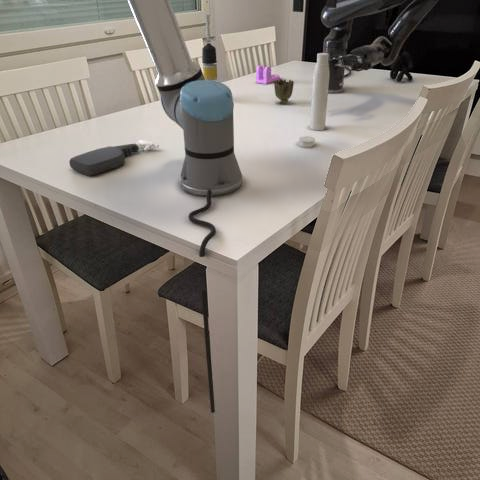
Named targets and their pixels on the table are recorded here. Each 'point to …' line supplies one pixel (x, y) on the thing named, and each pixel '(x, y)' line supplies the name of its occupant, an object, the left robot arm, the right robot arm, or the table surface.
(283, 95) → the cup
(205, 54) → the yellow black flask
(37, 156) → the table surface
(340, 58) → the right robot arm
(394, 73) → the squiggle
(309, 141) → the cap
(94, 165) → the spray bottle
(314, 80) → the bottle
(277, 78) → the bracket
